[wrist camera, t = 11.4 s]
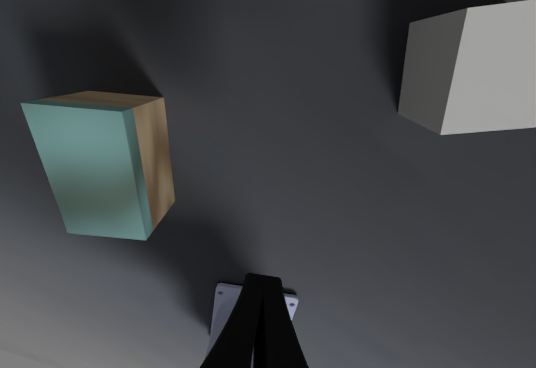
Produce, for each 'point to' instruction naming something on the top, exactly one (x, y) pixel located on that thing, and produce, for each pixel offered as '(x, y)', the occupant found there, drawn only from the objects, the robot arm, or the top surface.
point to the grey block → (472, 70)
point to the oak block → (105, 160)
